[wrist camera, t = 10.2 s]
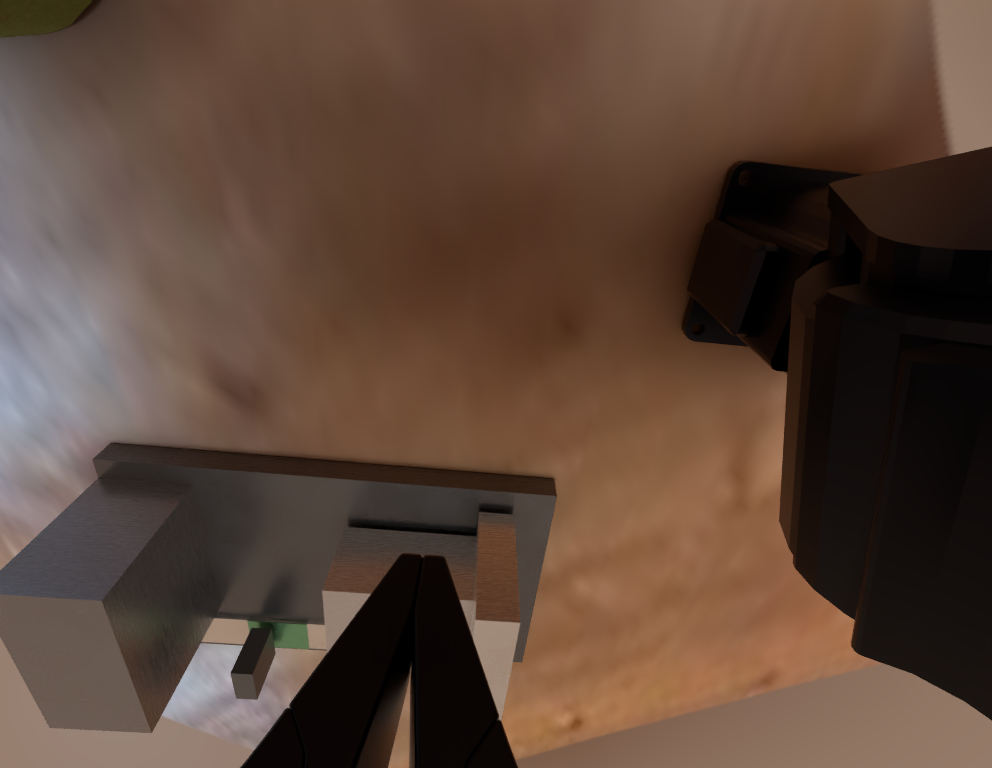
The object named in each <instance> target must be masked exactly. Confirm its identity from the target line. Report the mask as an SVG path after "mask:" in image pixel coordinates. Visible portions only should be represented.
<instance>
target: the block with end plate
mask: <svg viewBox="0 0 992 768" xmlns="http://www.w3.org/2000/svg"><path fill="white" fill-rule="evenodd" d="M402 553H413V554H421V555H422V557H424V556H425V555H441V556H444V557H445V559H446V561H447V564H448V567H449V570H450V573H451V576H452V579H453V582H454V584H455V587H456V590H457V593H458V596H459V599H460V602H461V605H462V608H463V611H464V614H465V617H466V620H467V623H468V626H469V628H470V631H471V634H472V637H473V640H474V643H475V646H476V649H477V652H478V655H479V658H480V661H481V664H482V667H483V670H484V672H485V675H486V678H487V681H488V684H489V687H490V690H491V693H492V696H493V699H494V702H495V705H496V708H497V711H498V714H499V720H501V719H502V714H503V709H504V704H505V699H506V694H507V689H508V683H509V678H510V673H511V668H512V663H513V658H514V653H515V648H516V643H517V637H518V632H519V627H520V607H519V589H518V570H517V552H516V534H515V515H513V514H500V513H487V512H479V516H478V524H477V533H476V537H475V536H462V535H448V534H435V533H421V532H408V531H394V530H381V529H367V528H354V527H344V530H343V533H342V536H341V538H340V541H339V544H338V547H337V550H336V553H335V556H334V558H333V561H332V564H331V567H330V570H329V573H328V575H327V578H326V581H325V584H324V587H323V590H322V595H323V608H324V621H325V633H326V646H327V653H328V651H329V650H330V649H331V647H332V646H333V645H334V643H335V642H336V641H337V639H338V638H339V636H340V635H341V634H342V632H343V631H344V630H345V628H346V627H347V626H348V624H349V623H350V622H351V620H352V619H353V618H354V616H355V615H356V613H357V612H358V611H359V609H360V608H361V607H362V605H363V604H364V603H365V601H366V600H367V599H368V597H369V596H370V595H371V593H372V592H373V591H374V589H375V588H376V586H377V585H378V584H379V582H380V581H381V580H382V578H383V577H384V576H385V574H386V573H387V572H388V570H389V569H390V568H391V566H392V565H393V563H394V562H395V561H396V559H397V558H398V557H399V556H400V555H401V554H402ZM410 673H411V671H410Z"/></svg>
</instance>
